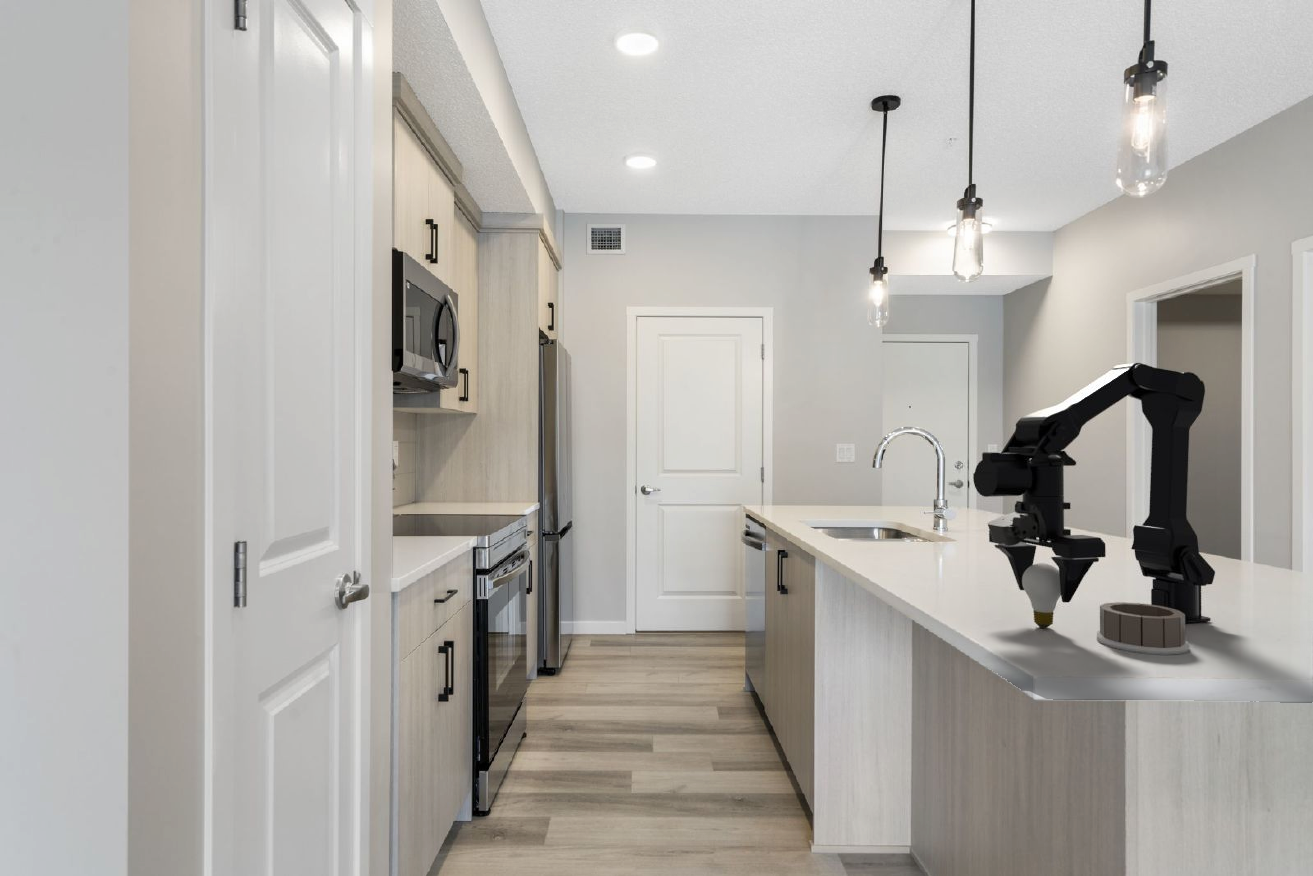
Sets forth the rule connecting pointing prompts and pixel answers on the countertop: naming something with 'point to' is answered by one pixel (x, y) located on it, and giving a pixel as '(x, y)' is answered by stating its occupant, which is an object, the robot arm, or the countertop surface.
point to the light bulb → (1042, 591)
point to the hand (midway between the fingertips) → (1043, 595)
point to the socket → (1142, 628)
